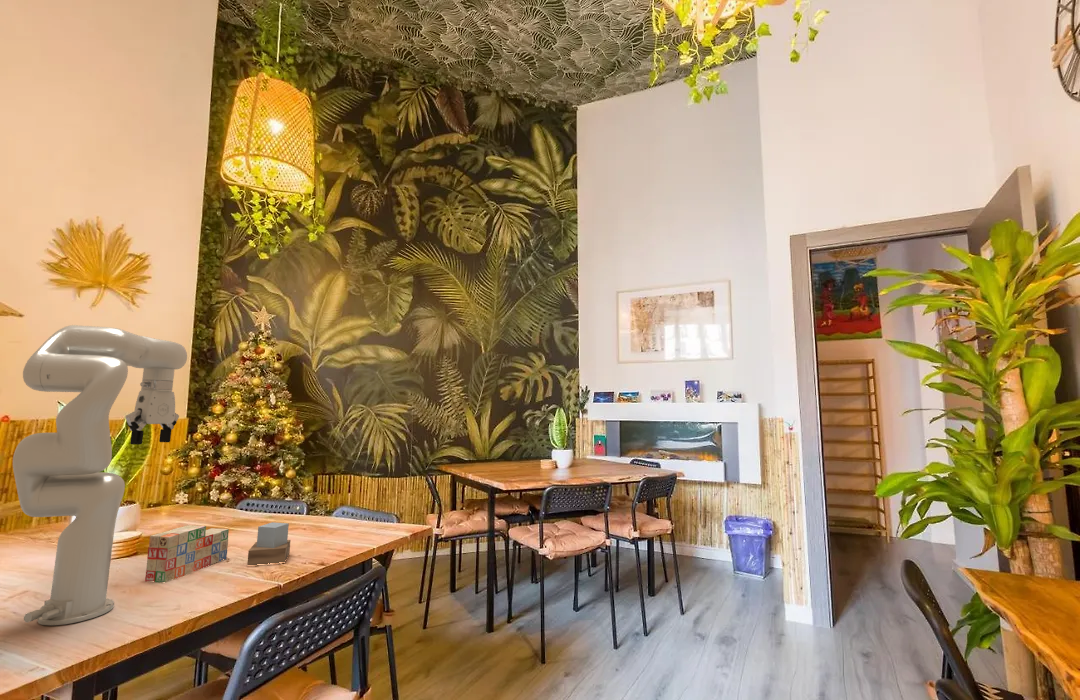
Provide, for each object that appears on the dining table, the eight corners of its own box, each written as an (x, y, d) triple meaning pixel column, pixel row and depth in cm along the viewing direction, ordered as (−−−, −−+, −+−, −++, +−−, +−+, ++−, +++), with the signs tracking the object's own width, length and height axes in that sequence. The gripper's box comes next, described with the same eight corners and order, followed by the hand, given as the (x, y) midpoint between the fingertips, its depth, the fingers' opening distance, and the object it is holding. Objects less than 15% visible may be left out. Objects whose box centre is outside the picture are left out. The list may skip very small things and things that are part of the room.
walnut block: (284, 565, 146) (285, 548, 147) (246, 568, 143) (248, 550, 144) (289, 555, 156) (290, 539, 156) (254, 558, 152) (255, 542, 153)
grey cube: (273, 548, 147) (275, 527, 147) (256, 546, 148) (258, 526, 148) (287, 542, 152) (288, 523, 153) (270, 541, 154) (272, 522, 154)
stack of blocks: (209, 558, 151) (213, 518, 153) (226, 559, 150) (230, 519, 152) (144, 582, 130) (149, 535, 132) (164, 583, 129) (169, 536, 131)
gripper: (143, 385, 138) (136, 445, 136) (191, 388, 155) (185, 441, 153) (119, 385, 139) (111, 445, 136) (169, 388, 156) (163, 441, 153)
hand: (150, 443), depth 145 cm, fingers open, 9 cm apart
